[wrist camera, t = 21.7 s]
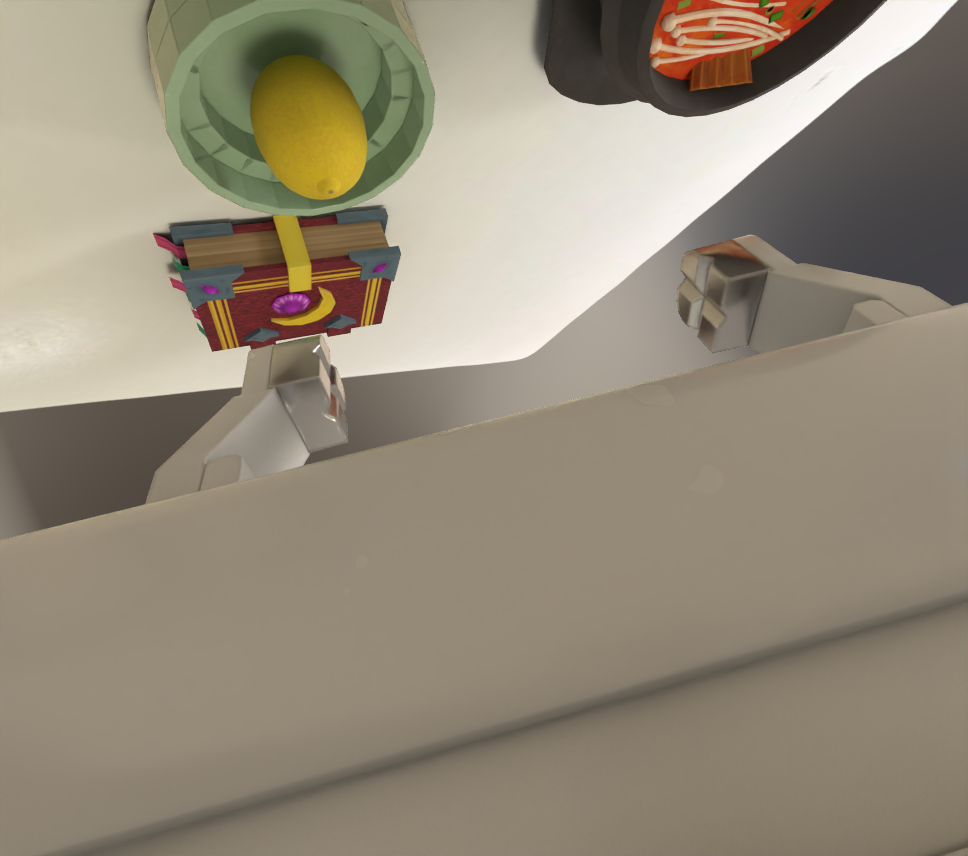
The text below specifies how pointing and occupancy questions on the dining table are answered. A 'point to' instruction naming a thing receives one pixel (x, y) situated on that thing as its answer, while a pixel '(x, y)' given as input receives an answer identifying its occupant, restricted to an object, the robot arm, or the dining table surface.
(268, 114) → the lemon
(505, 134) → the dining table surface
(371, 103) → the bowl
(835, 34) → the casserole
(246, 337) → the decorative book
